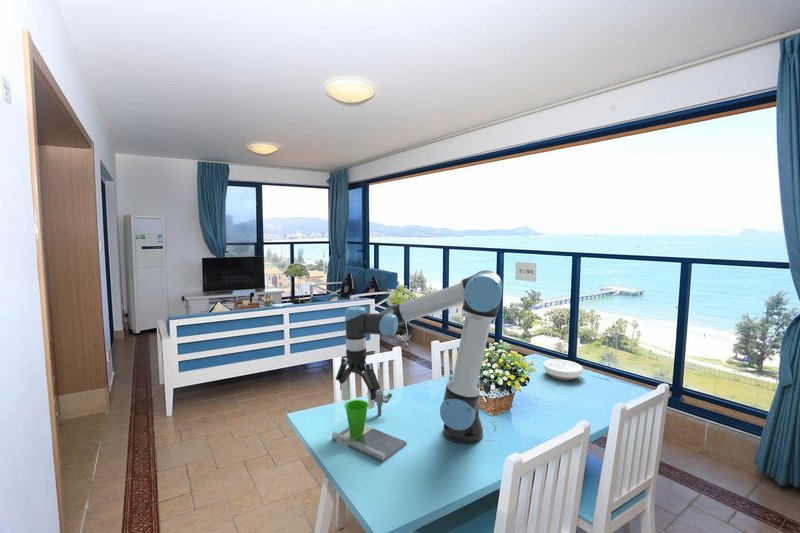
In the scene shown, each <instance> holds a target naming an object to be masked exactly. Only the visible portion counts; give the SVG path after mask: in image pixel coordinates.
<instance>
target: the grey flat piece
mask: <svg viewBox="0 0 800 533" xmlns="http://www.w3.org/2000/svg"><path fill="white" fill-rule="evenodd" d="M331 434H332V435H331V440H332V441H334V442H336V443H338V444H341V445H343V446H345V447H347V448H349V449H352V450H354V451H356V452H358V453H360V454H362V455H365V456H367V457H369V458H372V459H374V460H375V461H377V462H380V463H381V464H382V463H384V462H385V461H387V460H388V459H389V458H391V457H392V456H394V455H395V454H397V452H399V451H400V450H401V449H403V448H404V447H405V446H407V441H405V440H403V439H401V438H397V437H395V436H393V435H390V434H388V433H385V432H384V431H380V430H378V429H375V428H372V427H370V426H367V425H366V424H365V426H364V432H363V434H362V435H359V436H353V435H351V433H350V430H349V427H348V428H346V429H344V430H342V431H340V432H337V431H334V432H332V433H331Z"/></svg>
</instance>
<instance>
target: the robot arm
mask: <svg viewBox="0 0 800 533" xmlns="http://www.w3.org/2000/svg"><path fill="white" fill-rule="evenodd" d="M503 290H504V284H503V280H502V279H501V277H500V275H498V274H497V273H496V272H494V271H492V270H481V271H478V272H476V273H474V274H473V275H470V276H469V277H465V278H462V279H461V280H460V283H457V284H454V285H451V286H448V287H445V288H442V289H440V290H437V291H433V292H430V293H428V294H425V295H421V296H419V297H416V298H413V299H410V300H407V301H405V302H402V303H399V304H396V305H389V306H388V307H386V308H385V309H384V310H382V311H380V312H379V313H371V312H370V313H368V312H367V311H366V308H365V307H364V306H350V307H347V308H346V309H345V311H344V312H345V316H344V322H345V323H344V324H345V325H344V326H345V348H346V350H345V352H346V354H345V355H346V356H345V357H343V358H341V360H340V366H339V369H338V371H337V374H336V377H335V380H336V381H338V382H339V385H340V386H339V387H340V391H341V395H340V396H341V401H344V400H346V399H348V398H349V395H348V394H349V393H348V392H349V390H348V388H349V387H348V380H347V379H348V378H349V377H350V376H351V374H356V375H359V376H360V377H361V379H362V380H363V382H364V383H365V385H366V387H367V389H368V391H367V393H368V395H367V403H368V407H367V410H371V409H373V408H375V405H376V404H375V403H376V402H375V399H376V391H380V389H381V386H380V383H379V380H378V378H377V376H376V373H375V371H374V365H373V363H372V362H370V363H366V359H367V335H368V334H369V335H379V336H394V335H396V333H397V332H398V329H399V325H401V324H404V323H406V322H407V323H408V322H410V321H412V320H413V321H414V320H417V319H419V318H423V317H426V316H429V315H432V314H436V313H438V312H441V311H445V310H448V309H452V308H454V307H457V306H460V305H462V309H461V310H462V311H463V312H464V314H465V317H464V322H463V326H462V331H461V337H460V340H459V344H458V345H459V346H458V350H457V354H456V360H455V363H454V369H453V373H452V374H450V375H449V377H448V381H447V383H446V386H445V391H444V395H443V398H442V399H443V400H442V403H441V405H440V406H439V415H440V418H441V421H442V422H443V428H442V429H443V431H442V433H443V435H444V436H445V438H447V439H448V440H450V441H452V442H455V443H459V444H473V443H477V442H480V440H482V439H483V436H484V428H483V425H482V420H481V418H480V393H481V391H480V389H481V388H480V386H481V382H480V381H481V380H480V378H479V377H480V372H481V368H482V365H483V359H484V355H485V350H486V345H487V341H488V337H489V333H490V332H489V331H490V327H491V323H492V321H493V320H494V319H496V318H497V316H498V312H499V309H500V305H501V300H502V299H503Z"/></svg>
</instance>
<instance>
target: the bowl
mask: <svg viewBox="0 0 800 533" xmlns="http://www.w3.org/2000/svg"><path fill="white" fill-rule="evenodd" d="M543 369H544V371H545V372H546V373H547V374H548V375H549V376H551V377H553V378H554V379H557V380H561V381H571V380H575V379H577V378H578V377H580V376H581V375H582V374H583V370H584V368H583V366H582V365H580V364H579V363H577V362H575V361H571V360H566V359H558V358H554V359H553V358H552V359H547V360H545V361H543Z"/></svg>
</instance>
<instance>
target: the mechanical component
mask: <svg viewBox="0 0 800 533" xmlns="http://www.w3.org/2000/svg"><path fill="white" fill-rule="evenodd" d="M366 395H367V396H368V392H367V394H366ZM392 396H393V395H392V393H391V392H388V393H387V395H385V393H384V391H381V390H377V391H376V399H375V403H376V404H375V405H376V406H377V416H378V417H381V415H382V406H383V405H384V404H388V403H389V402H390V400H391V399H392Z"/></svg>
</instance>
